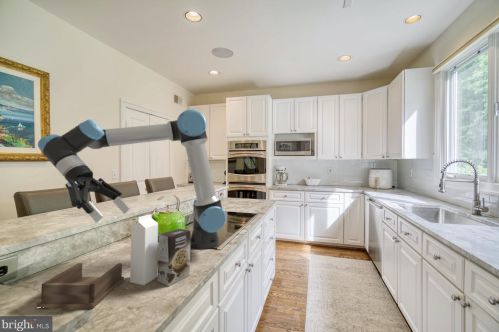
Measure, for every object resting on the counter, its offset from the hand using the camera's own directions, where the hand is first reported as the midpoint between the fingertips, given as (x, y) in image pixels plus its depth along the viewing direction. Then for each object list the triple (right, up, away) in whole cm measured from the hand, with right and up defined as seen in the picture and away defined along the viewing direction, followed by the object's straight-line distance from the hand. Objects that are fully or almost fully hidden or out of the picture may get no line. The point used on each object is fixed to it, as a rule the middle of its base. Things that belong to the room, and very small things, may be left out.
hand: (114, 214), depth 75 cm
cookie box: (+21, -22, 0) cm, 30 cm away
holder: (-3, -22, -9) cm, 24 cm away
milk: (+11, -22, -1) cm, 25 cm away
